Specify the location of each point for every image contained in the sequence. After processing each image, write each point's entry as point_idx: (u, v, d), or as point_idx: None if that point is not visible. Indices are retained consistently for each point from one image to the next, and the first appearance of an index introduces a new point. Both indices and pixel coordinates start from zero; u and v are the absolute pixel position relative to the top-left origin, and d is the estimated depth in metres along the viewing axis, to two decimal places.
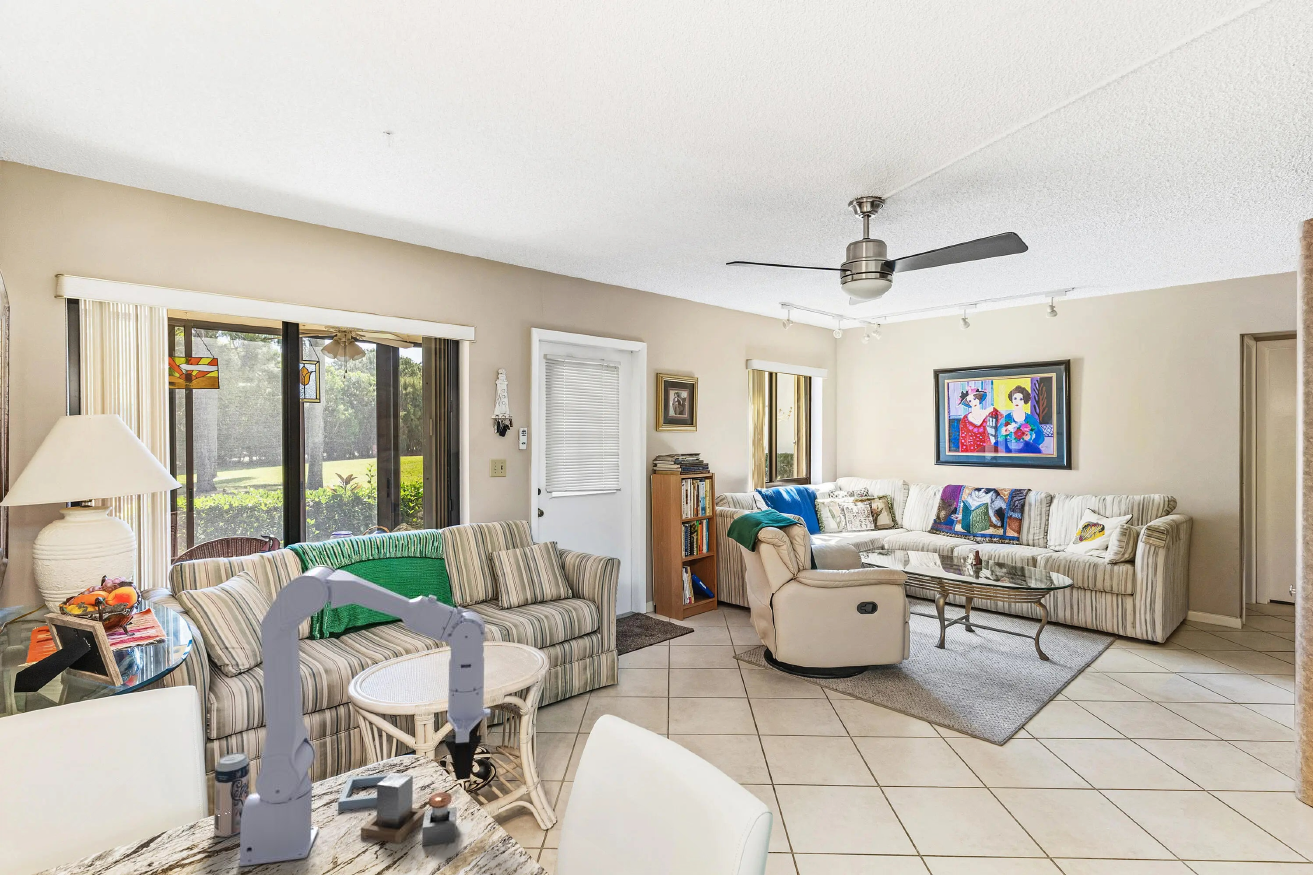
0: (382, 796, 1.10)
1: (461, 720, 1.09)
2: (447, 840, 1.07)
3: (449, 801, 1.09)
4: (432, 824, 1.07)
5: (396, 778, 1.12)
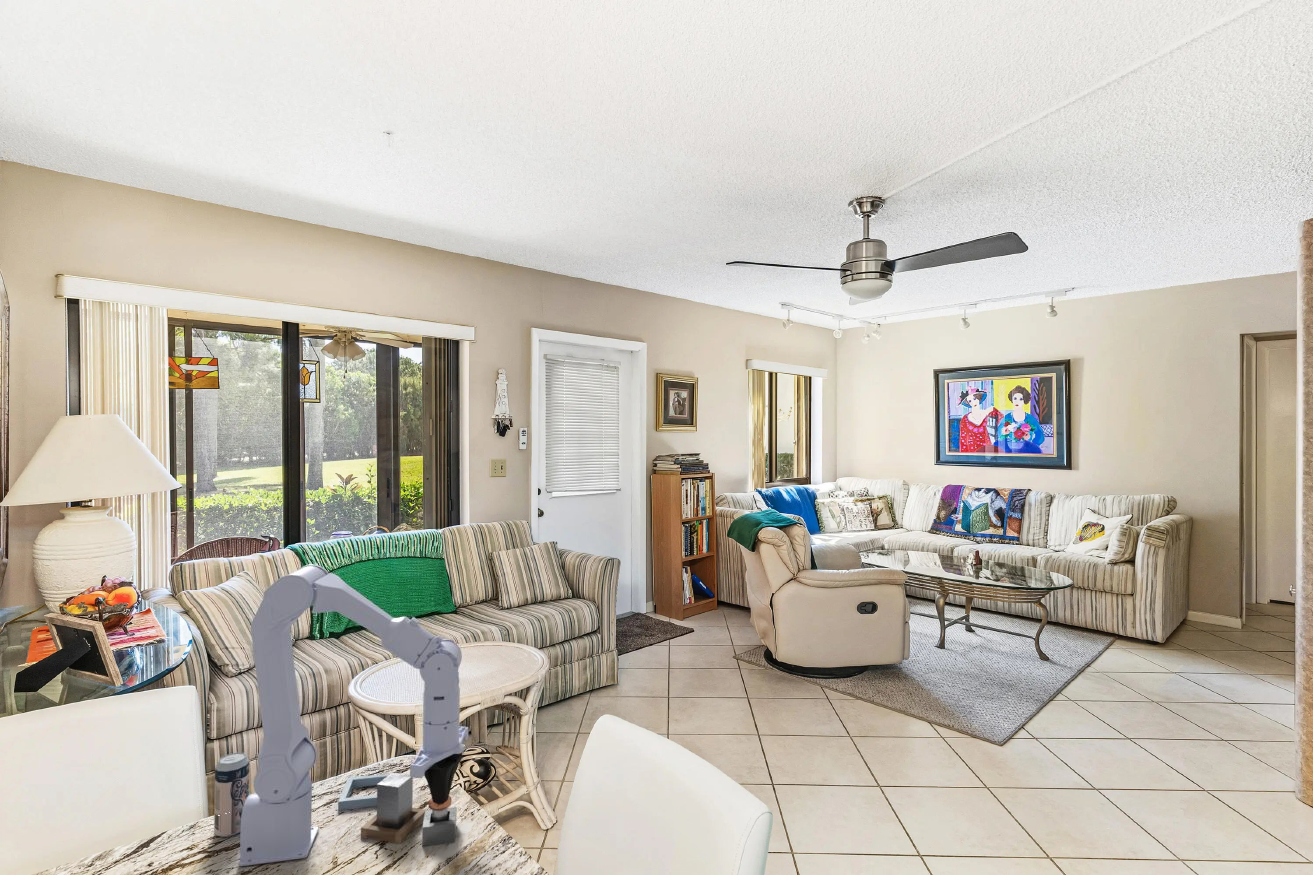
0: (382, 796, 1.10)
1: (428, 753, 1.07)
2: (447, 840, 1.07)
3: (449, 804, 1.09)
4: (432, 824, 1.07)
5: (396, 778, 1.12)
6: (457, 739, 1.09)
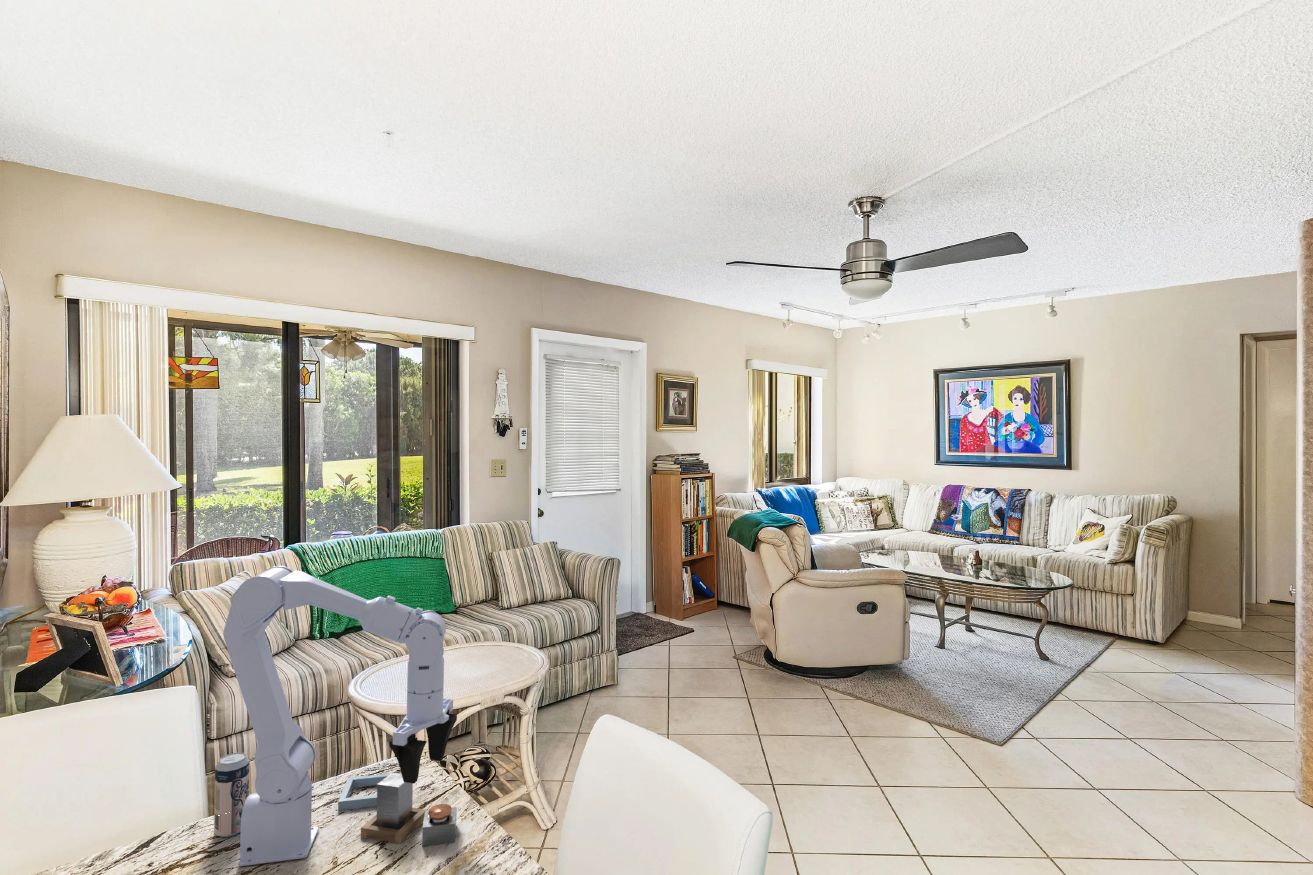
0: (382, 796, 1.10)
1: (411, 722, 1.08)
2: (447, 840, 1.07)
3: (449, 813, 1.09)
4: (432, 824, 1.07)
5: (396, 778, 1.12)
6: (441, 709, 1.10)
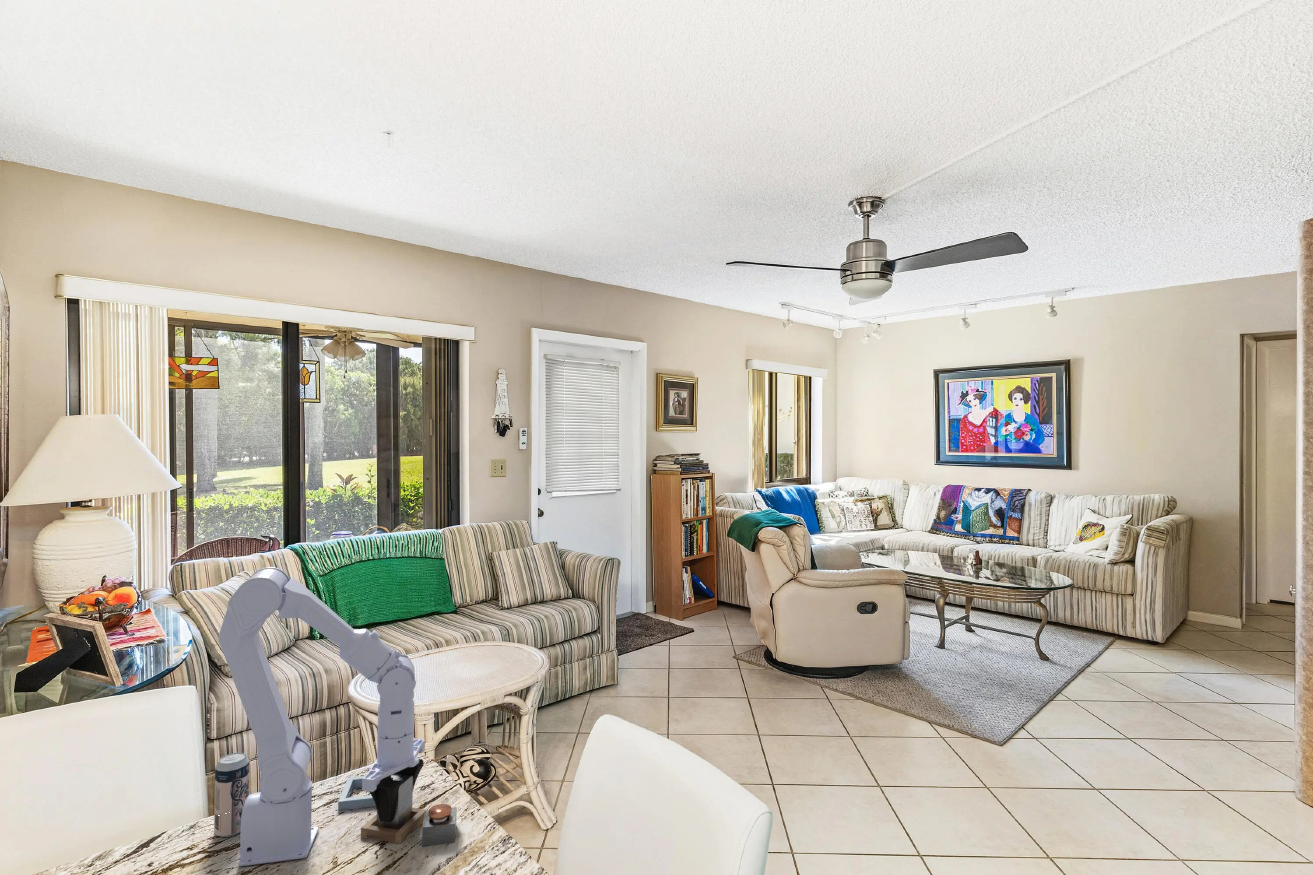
0: None
1: (381, 767, 1.09)
2: (447, 840, 1.07)
3: (449, 813, 1.09)
4: (432, 824, 1.07)
5: (396, 778, 1.12)
6: (411, 752, 1.11)
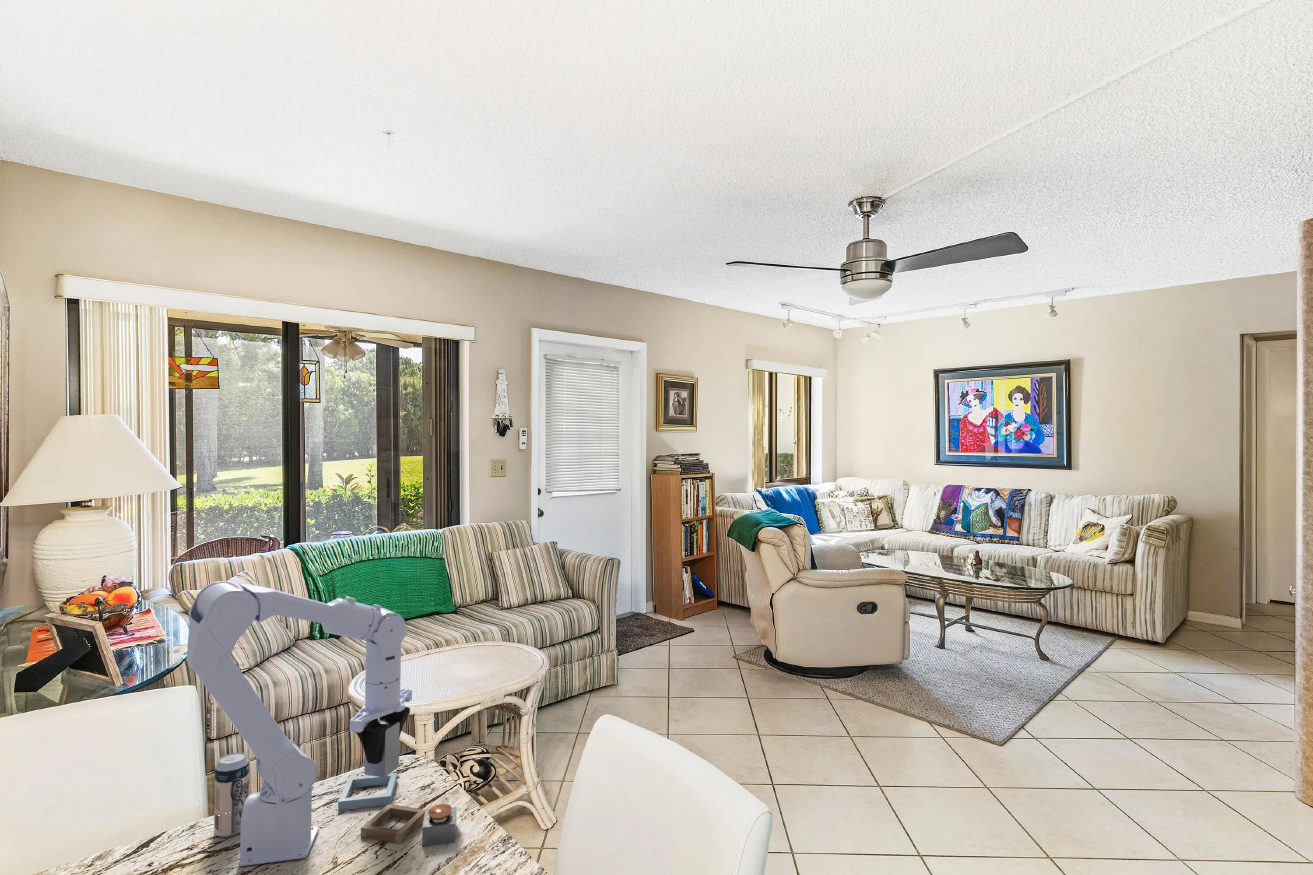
0: None
1: (369, 711, 1.14)
2: (447, 840, 1.07)
3: (449, 813, 1.09)
4: (432, 824, 1.07)
5: (383, 723, 1.17)
6: (397, 699, 1.17)
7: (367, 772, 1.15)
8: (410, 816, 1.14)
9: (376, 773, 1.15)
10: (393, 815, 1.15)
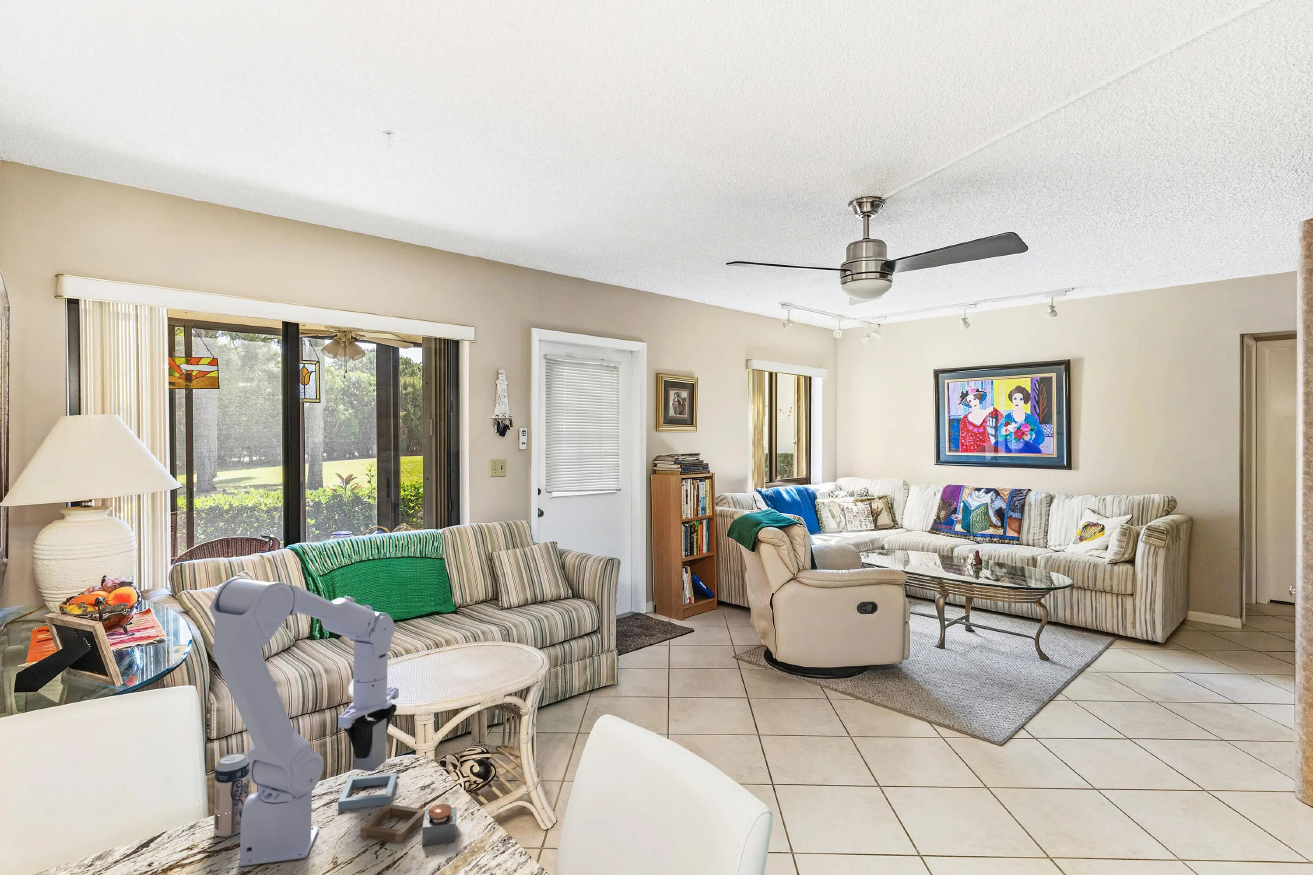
0: None
1: (356, 708, 1.19)
2: (447, 840, 1.07)
3: (449, 813, 1.09)
4: (432, 824, 1.07)
5: (371, 720, 1.22)
6: (384, 696, 1.22)
7: (355, 766, 1.20)
8: (410, 816, 1.14)
9: (364, 767, 1.20)
10: (393, 815, 1.15)
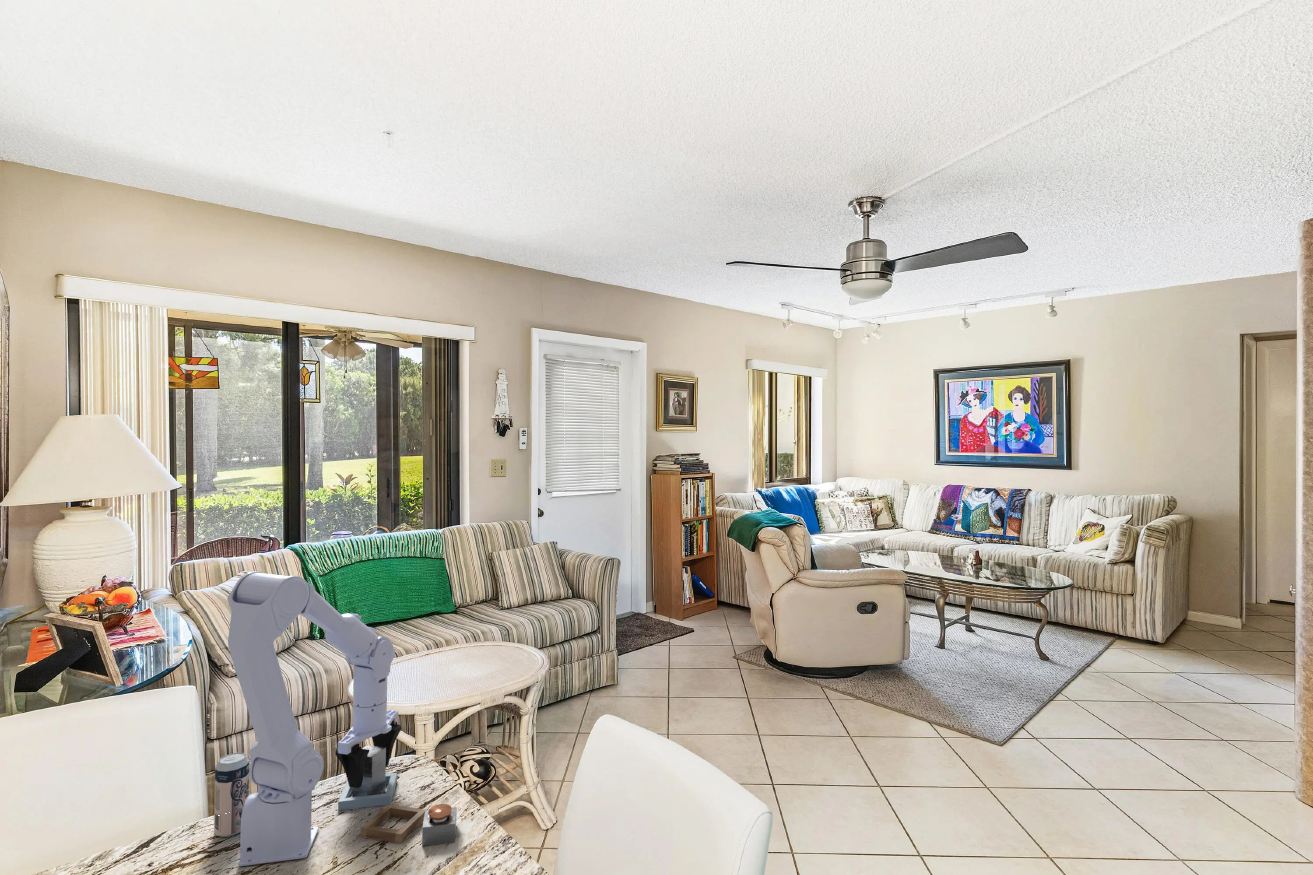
0: None
1: (356, 733, 1.19)
2: (447, 840, 1.07)
3: (449, 813, 1.09)
4: (432, 824, 1.07)
5: (370, 749, 1.22)
6: (384, 720, 1.22)
7: None
8: (410, 816, 1.14)
9: None
10: (393, 815, 1.15)
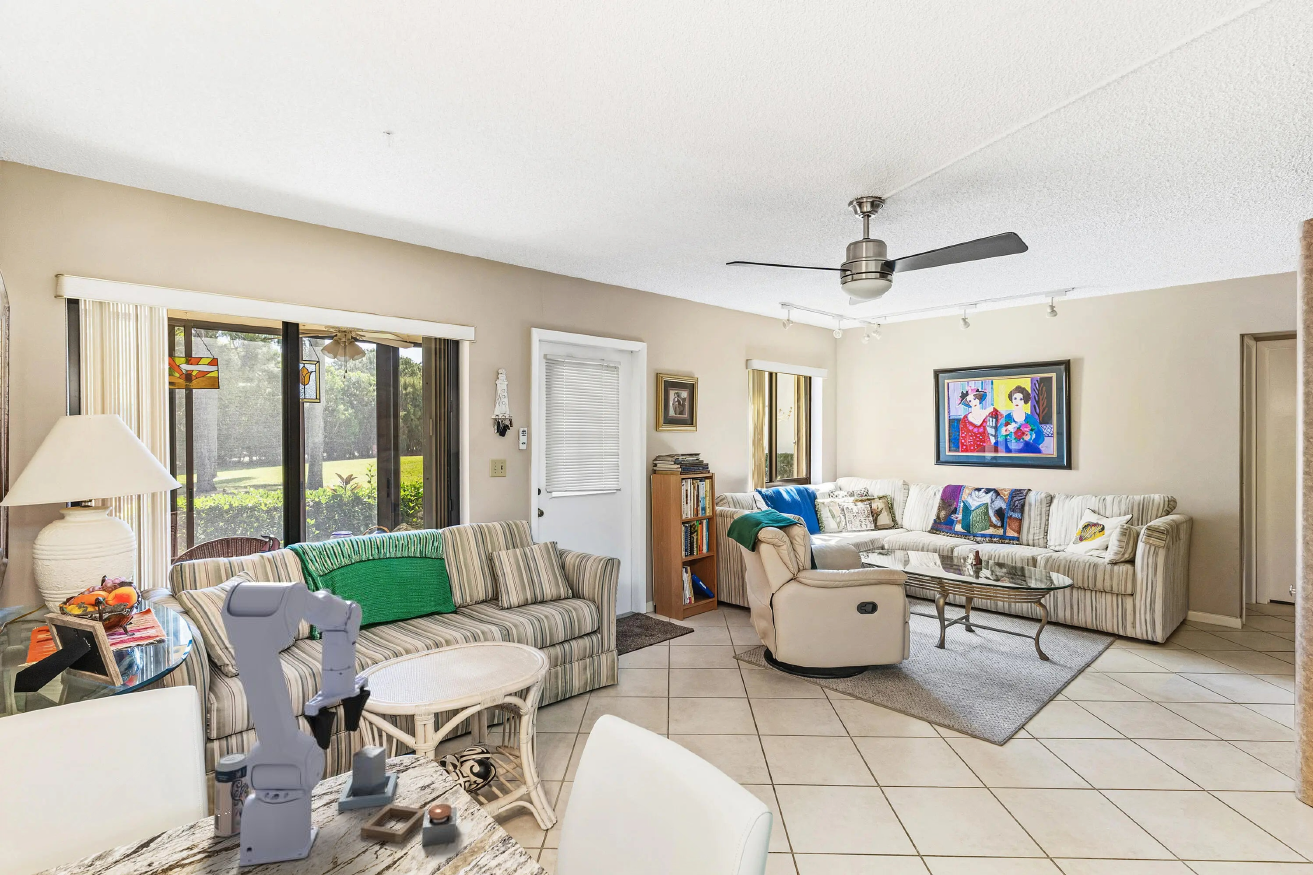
0: (357, 766, 1.20)
1: (324, 696, 1.21)
2: (447, 840, 1.07)
3: (449, 813, 1.09)
4: (432, 824, 1.07)
5: (370, 749, 1.22)
6: (352, 684, 1.23)
7: None
8: (410, 816, 1.14)
9: None
10: (393, 815, 1.15)
